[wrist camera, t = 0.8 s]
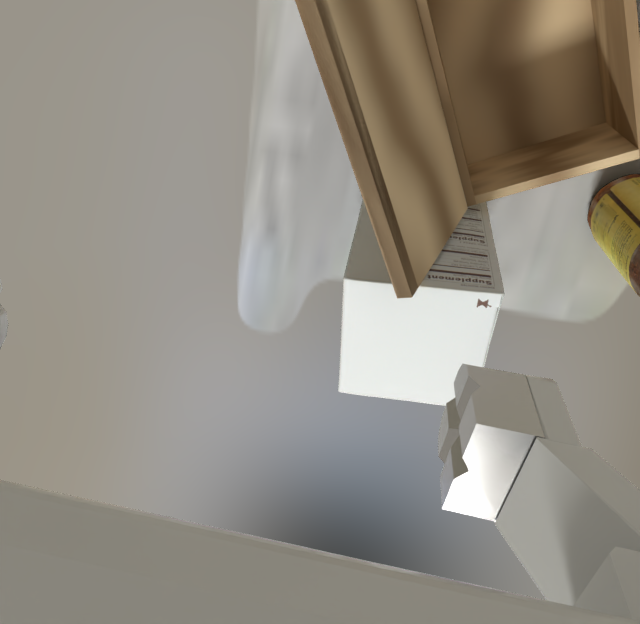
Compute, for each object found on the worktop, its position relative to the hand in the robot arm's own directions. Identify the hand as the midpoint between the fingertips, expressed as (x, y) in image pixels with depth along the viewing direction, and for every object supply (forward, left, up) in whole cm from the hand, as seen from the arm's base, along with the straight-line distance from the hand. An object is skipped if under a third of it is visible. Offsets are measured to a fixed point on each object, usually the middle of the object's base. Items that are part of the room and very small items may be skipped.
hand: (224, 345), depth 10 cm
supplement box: (+1, +13, -37) cm, 40 cm away
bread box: (-9, +1, -37) cm, 39 cm away
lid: (-2, +1, -24) cm, 24 cm away
